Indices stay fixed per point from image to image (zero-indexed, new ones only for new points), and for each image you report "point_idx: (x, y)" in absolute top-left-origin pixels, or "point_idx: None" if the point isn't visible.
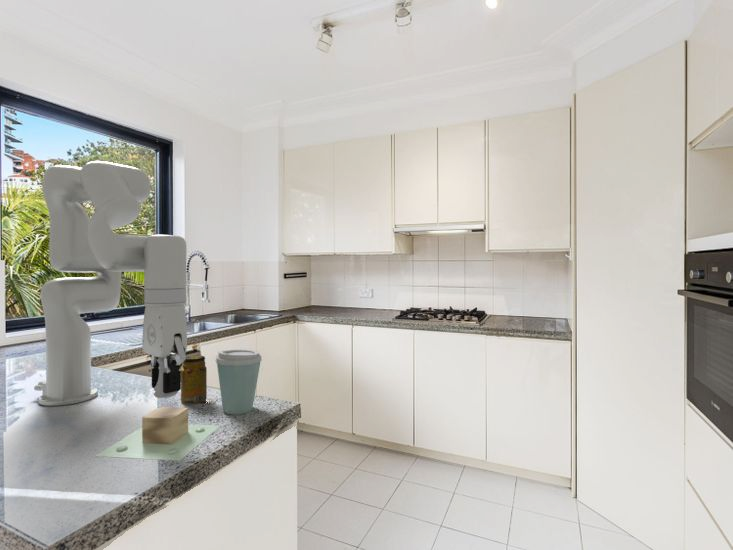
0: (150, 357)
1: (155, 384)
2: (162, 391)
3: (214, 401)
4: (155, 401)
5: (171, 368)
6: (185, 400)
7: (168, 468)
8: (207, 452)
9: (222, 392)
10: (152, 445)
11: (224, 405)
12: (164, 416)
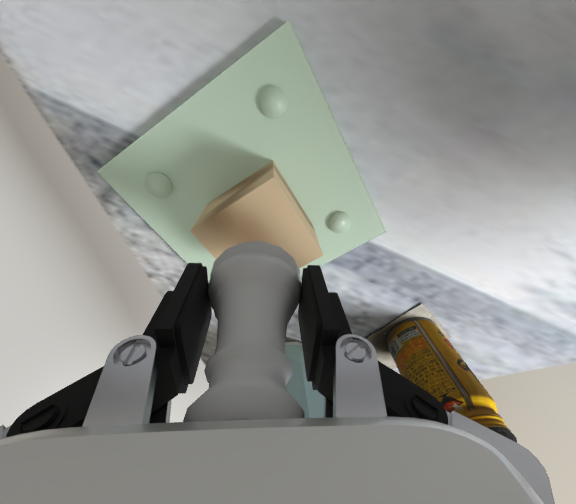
0: (421, 394)
1: (304, 280)
2: (219, 266)
3: (380, 360)
4: (505, 298)
5: (96, 377)
6: (416, 330)
7: (101, 142)
8: (135, 238)
9: (297, 383)
10: (237, 170)
11: (293, 357)
12: (225, 225)
